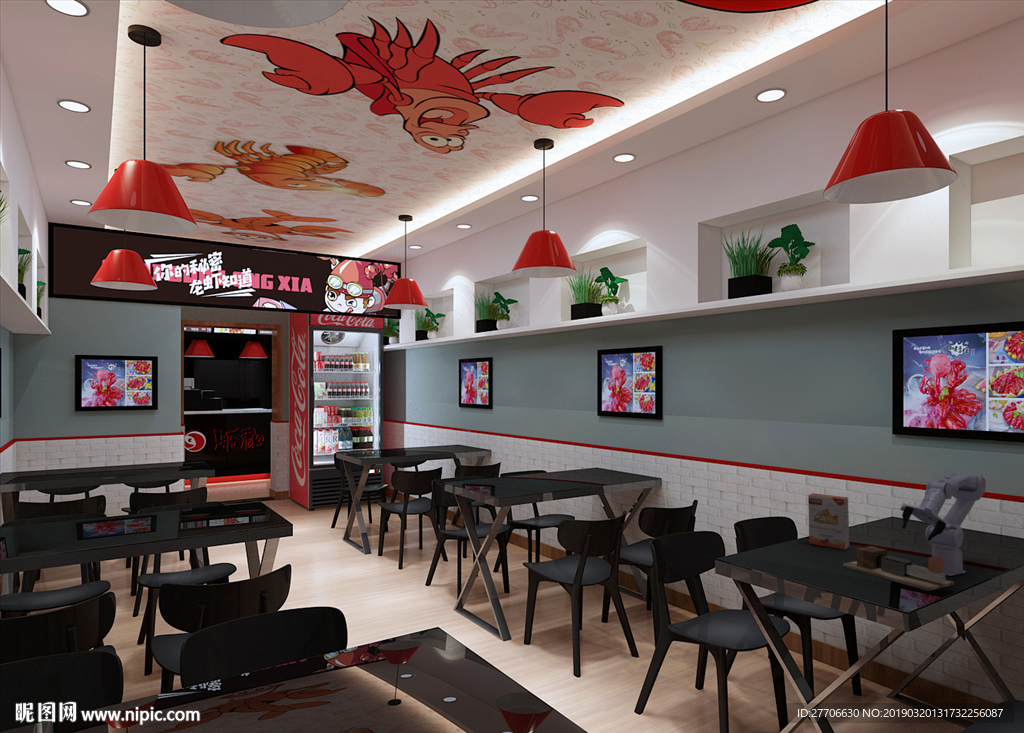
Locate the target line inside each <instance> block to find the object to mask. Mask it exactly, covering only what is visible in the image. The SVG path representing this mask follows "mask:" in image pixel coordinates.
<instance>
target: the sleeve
mask: <svg viewBox="0 0 1024 733" xmlns="http://www.w3.org/2000/svg"><path fill="white" fill-rule="evenodd" d="M907 563H910V564H914V563H913V560H911V559H906V558H902V557H899V556H894V555H888V554H887V556H883V557H881V571H885V572H889V573H892V574H896V575H899V576H903V577H906V576H910V575H908V574H905V564H907Z"/></svg>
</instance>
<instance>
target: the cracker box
mask: <svg viewBox="0 0 1024 733" xmlns="http://www.w3.org/2000/svg"><path fill="white" fill-rule="evenodd" d="M807 498H808V501H807V502H808V542H809V545H812V546H813V545H814V546H820V547H827V548H831V549H837V550H842V551H846V550H847V549H849V548H850V524H849V522H850V519H849V517H850V516H849V497H847V496H839V495H833V494H832V495H829V494H822V493H814V492H813V493H809V494H808V497H807Z"/></svg>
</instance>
